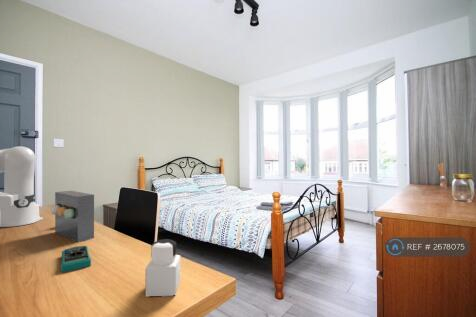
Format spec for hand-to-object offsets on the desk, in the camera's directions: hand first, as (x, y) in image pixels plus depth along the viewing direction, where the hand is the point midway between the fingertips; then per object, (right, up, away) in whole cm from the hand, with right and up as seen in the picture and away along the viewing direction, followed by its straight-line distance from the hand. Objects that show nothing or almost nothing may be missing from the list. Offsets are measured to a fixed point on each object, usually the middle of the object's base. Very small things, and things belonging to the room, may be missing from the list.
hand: (23, 196), depth 81 cm
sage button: (+8, -11, +12) cm, 18 cm away
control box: (+4, -20, +19) cm, 28 cm away
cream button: (-3, -11, +19) cm, 22 cm away
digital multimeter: (+23, -21, -6) cm, 31 cm away
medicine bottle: (+56, -20, -22) cm, 64 cm away
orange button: (+2, -11, +15) cm, 19 cm away
